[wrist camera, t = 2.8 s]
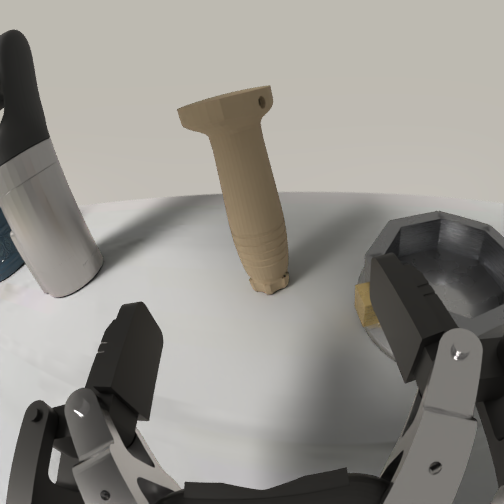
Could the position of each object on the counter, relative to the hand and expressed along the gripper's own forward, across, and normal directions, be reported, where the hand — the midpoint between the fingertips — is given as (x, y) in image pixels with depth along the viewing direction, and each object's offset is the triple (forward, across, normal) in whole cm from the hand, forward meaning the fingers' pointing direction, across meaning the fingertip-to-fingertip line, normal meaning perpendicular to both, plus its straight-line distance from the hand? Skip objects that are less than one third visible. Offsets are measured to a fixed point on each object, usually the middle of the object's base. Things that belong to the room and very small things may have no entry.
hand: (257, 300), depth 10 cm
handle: (+11, 0, +9) cm, 15 cm away
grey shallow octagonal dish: (+5, -13, +9) cm, 17 cm away
